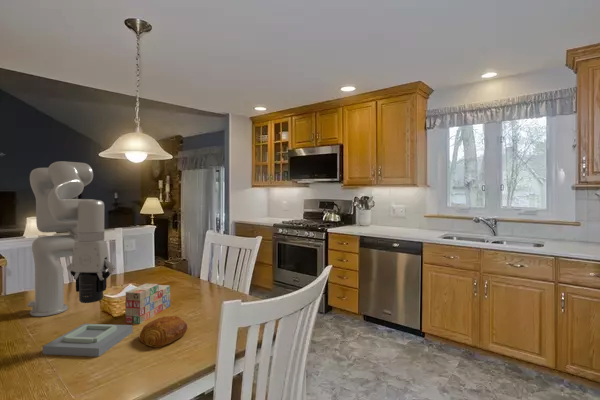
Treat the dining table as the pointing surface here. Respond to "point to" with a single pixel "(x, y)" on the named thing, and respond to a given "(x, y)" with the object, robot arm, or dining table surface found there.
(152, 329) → the croissant
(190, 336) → the dining table surface
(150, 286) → the stack of blocks
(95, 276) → the supplement bottle
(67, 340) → the base plate
